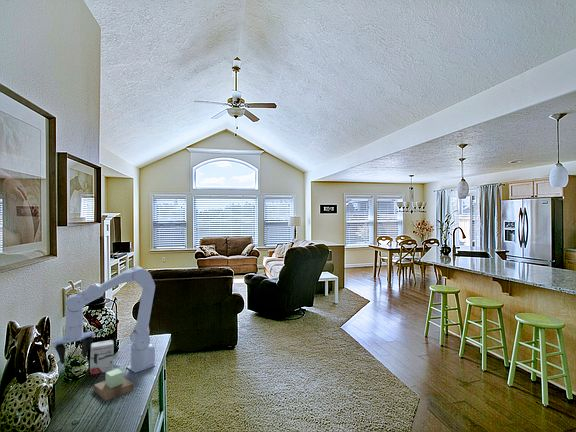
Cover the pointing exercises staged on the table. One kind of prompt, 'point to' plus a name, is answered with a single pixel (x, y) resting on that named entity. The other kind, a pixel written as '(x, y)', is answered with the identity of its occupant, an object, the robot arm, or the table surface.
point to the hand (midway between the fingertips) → (73, 359)
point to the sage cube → (114, 378)
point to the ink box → (101, 357)
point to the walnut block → (112, 389)
